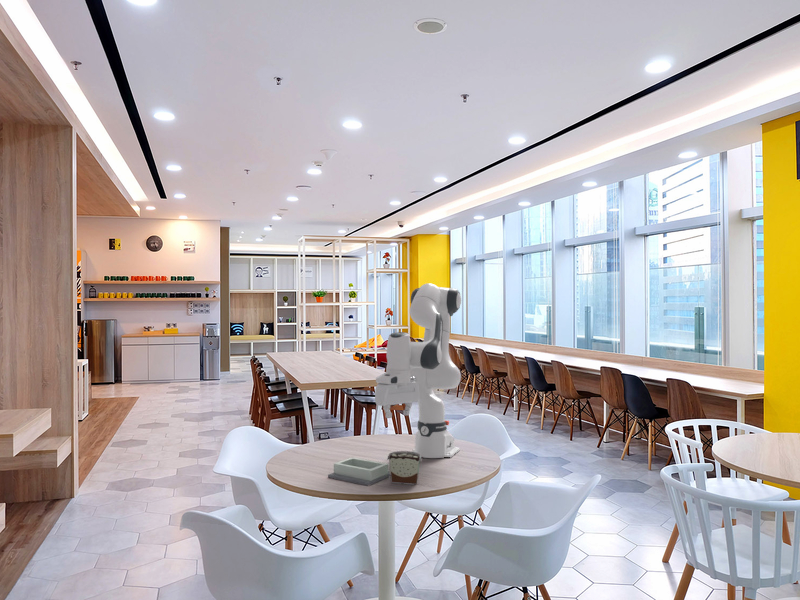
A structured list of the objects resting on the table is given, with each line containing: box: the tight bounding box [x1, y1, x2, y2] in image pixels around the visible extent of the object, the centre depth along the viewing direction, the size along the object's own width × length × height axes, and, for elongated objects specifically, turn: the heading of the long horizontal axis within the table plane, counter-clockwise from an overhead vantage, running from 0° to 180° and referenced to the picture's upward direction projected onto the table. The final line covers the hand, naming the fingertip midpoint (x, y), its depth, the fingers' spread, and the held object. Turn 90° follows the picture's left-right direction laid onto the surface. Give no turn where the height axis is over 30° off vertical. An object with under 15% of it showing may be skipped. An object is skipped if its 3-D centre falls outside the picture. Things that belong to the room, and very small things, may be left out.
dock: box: [327, 456, 391, 487], centre depth 199 cm, size 16×18×4 cm
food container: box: [386, 450, 422, 485], centre depth 193 cm, size 12×6×10 cm, turn 77°
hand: (397, 416), depth 193 cm, fingers open, 8 cm apart
